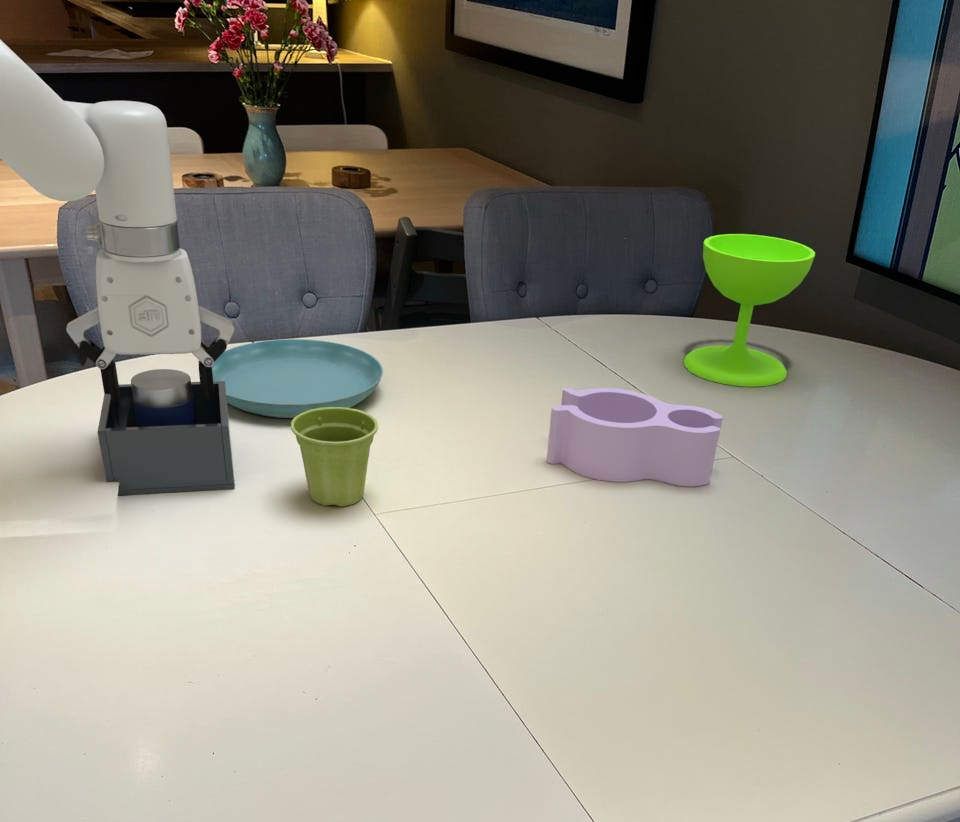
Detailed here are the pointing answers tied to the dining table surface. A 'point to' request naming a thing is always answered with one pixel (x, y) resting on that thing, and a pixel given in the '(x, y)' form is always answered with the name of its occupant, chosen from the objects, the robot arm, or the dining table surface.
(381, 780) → the dining table surface
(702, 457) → the clip
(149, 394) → the tin can
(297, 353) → the teal plate
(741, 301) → the wineglass
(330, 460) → the plant pot
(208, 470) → the open box
